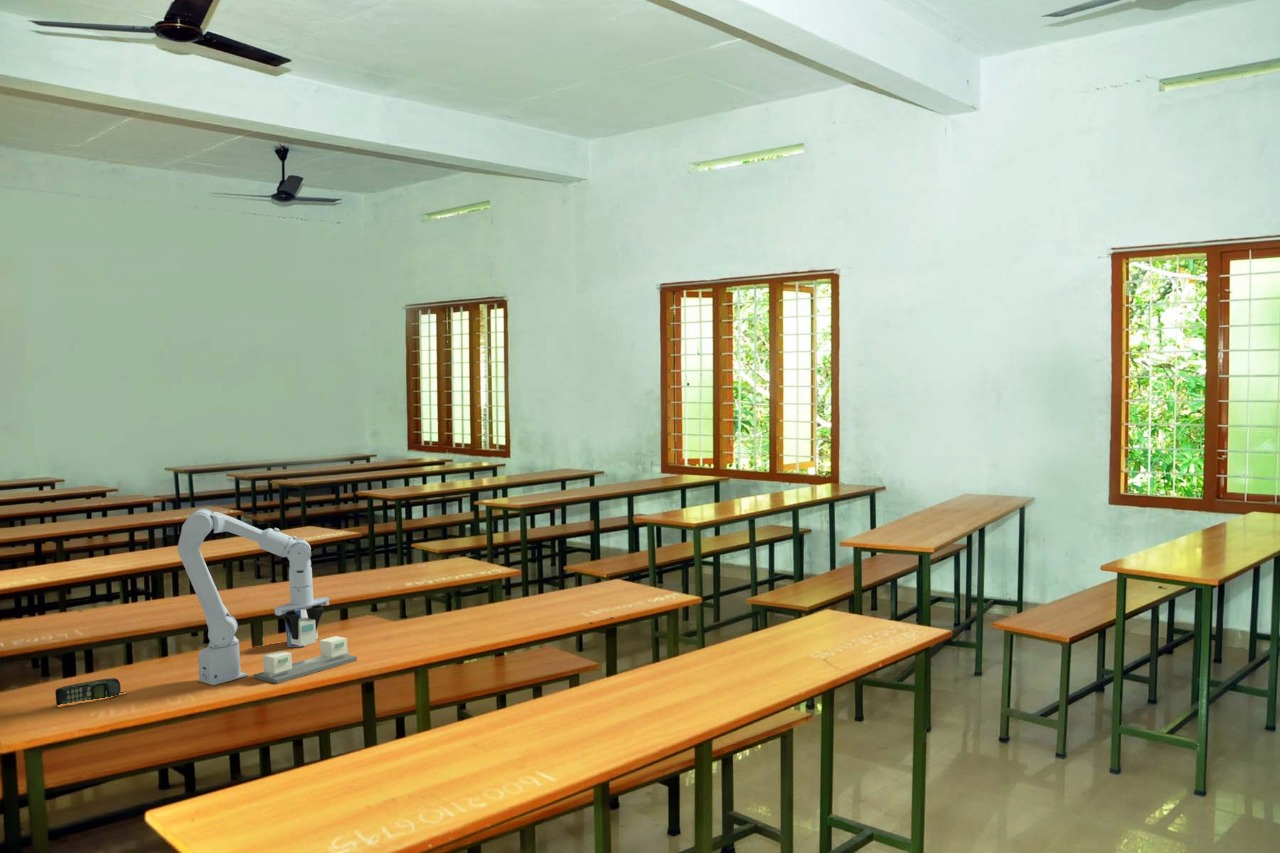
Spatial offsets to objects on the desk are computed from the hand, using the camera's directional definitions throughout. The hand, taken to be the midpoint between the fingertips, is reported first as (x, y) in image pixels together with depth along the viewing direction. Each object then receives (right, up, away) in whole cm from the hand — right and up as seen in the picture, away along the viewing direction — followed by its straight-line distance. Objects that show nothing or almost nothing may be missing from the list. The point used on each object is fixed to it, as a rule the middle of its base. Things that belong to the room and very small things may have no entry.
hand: (304, 636), depth 258 cm
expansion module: (0, -2, 0) cm, 2 cm away
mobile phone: (-44, -12, -21) cm, 50 cm away
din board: (+1, -8, 0) cm, 9 cm away
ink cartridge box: (-10, -8, +28) cm, 31 cm away
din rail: (+1, -8, 0) cm, 9 cm away
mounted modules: (+1, -6, 0) cm, 7 cm away
